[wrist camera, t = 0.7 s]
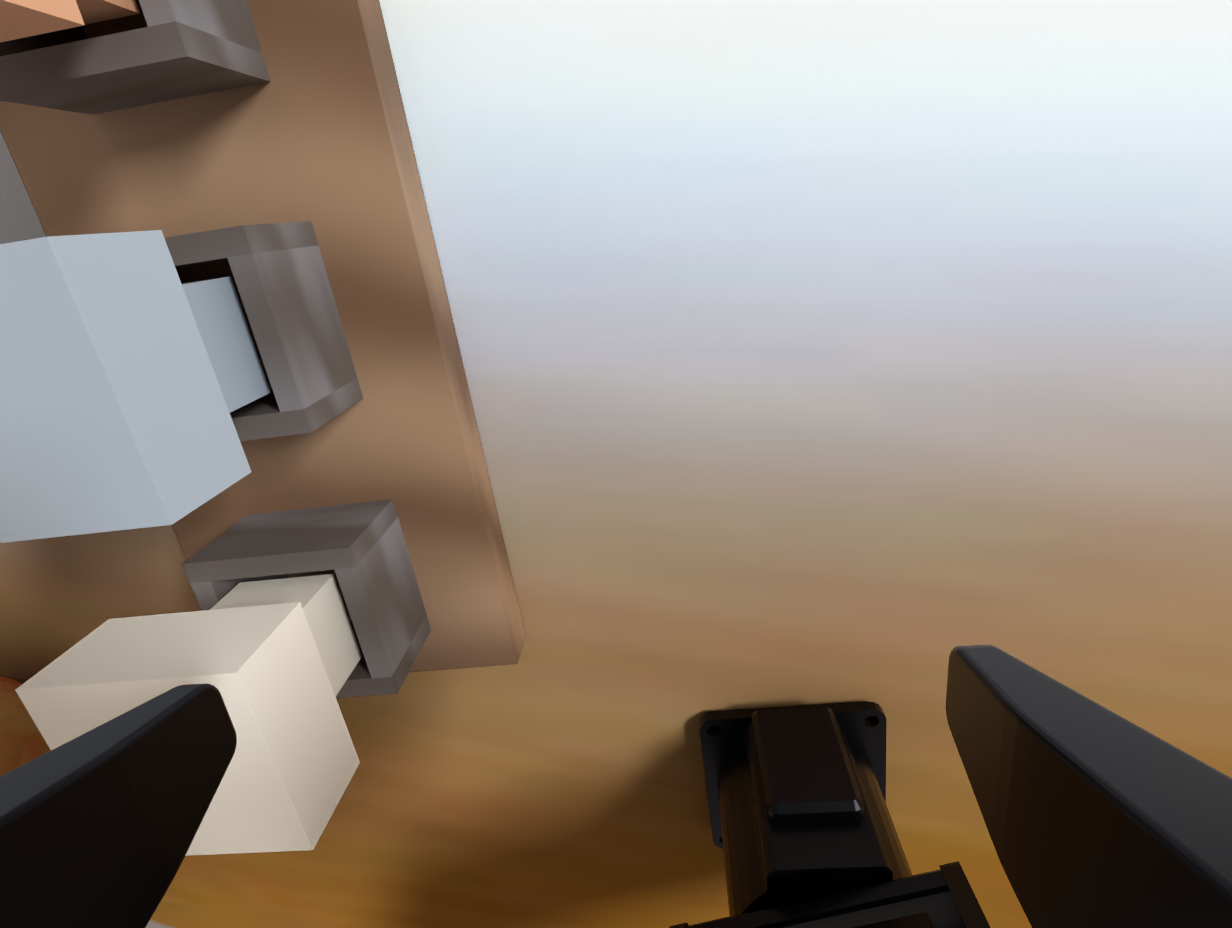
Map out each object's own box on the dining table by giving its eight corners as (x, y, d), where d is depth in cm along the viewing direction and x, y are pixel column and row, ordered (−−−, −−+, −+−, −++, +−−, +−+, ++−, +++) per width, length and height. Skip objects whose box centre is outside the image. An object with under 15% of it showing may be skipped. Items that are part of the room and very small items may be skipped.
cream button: (403, 681, 19) (312, 849, 14) (252, 692, 20) (115, 858, 15) (357, 538, 18) (236, 672, 13) (193, 555, 18) (15, 690, 13)
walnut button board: (525, 636, 23) (495, 730, 19) (265, 656, 24) (183, 750, 20) (320, -253, 15) (185, -432, 10) (-69, -156, 16) (-332, -285, 12)
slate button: (321, 426, 16) (171, 524, 11) (147, 447, 17) (-68, 550, 12) (256, 224, 15) (45, 235, 10) (64, 255, 15) (-228, 281, 10)
